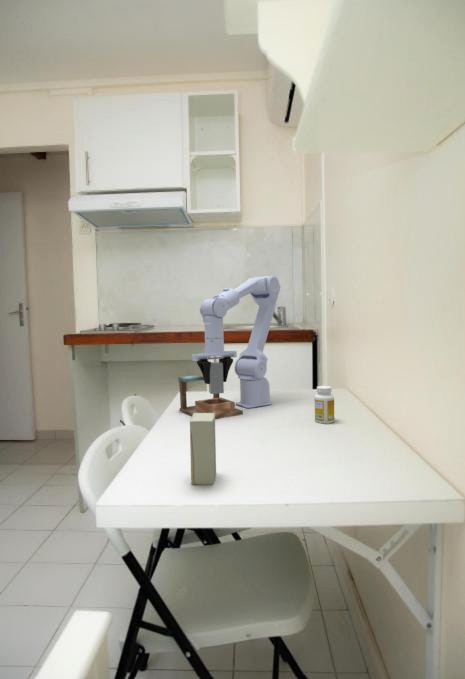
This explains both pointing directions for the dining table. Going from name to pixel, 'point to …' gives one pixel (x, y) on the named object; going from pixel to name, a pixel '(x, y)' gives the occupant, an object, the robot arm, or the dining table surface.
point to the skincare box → (203, 448)
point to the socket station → (206, 402)
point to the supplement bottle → (324, 405)
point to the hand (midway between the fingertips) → (215, 382)
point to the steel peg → (216, 378)
